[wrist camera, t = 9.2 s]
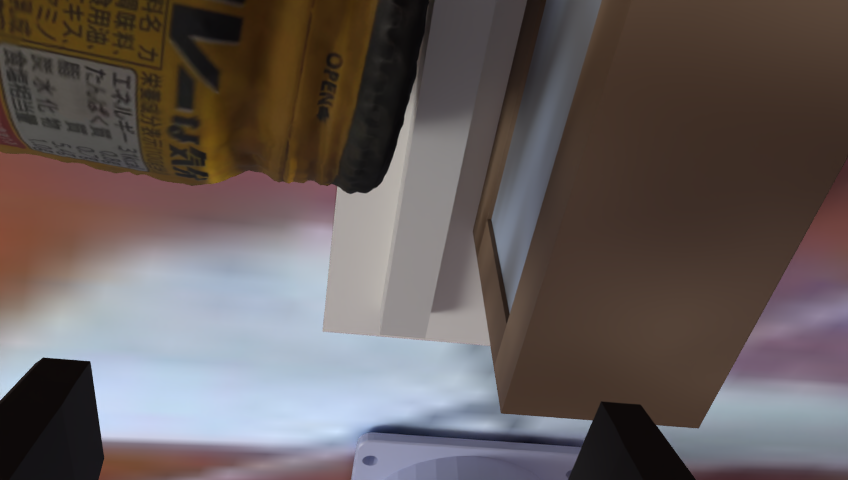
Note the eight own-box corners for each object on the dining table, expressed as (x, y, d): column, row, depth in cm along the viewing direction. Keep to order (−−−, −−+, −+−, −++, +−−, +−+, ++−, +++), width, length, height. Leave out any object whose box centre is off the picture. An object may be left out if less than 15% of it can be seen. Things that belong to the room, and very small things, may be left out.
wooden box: (622, 246, 20) (698, 428, 15) (472, 230, 19) (500, 413, 15) (838, -315, 13) (1106, -315, 8) (612, -362, 12) (755, -392, 8)
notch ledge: (684, 339, 23) (706, 388, 22) (324, 307, 22) (319, 357, 20) (1136, -596, 12) (1256, -642, 10) (437, -784, 10) (446, -869, 9)
